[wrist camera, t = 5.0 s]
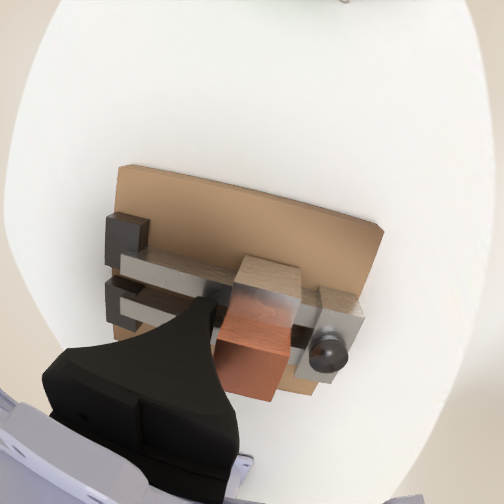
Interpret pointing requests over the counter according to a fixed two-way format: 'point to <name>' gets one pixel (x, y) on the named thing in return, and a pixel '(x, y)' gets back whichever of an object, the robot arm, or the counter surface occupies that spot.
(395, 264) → the counter surface
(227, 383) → the collar
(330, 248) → the walnut board
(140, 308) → the sliding bar clamp
